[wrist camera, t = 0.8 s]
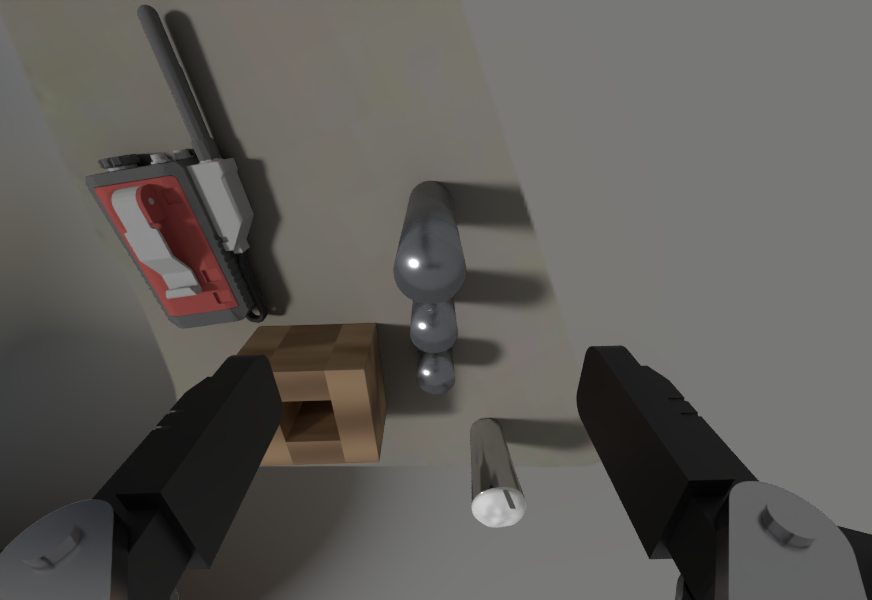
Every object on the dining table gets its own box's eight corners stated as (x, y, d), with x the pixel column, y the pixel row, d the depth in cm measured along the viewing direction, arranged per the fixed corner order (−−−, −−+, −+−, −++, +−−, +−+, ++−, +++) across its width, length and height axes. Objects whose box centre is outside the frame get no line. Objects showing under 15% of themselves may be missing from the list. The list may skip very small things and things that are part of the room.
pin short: (417, 336, 30) (415, 365, 27) (452, 335, 30) (454, 364, 27) (419, 363, 32) (418, 394, 28) (452, 362, 32) (454, 393, 28)
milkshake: (514, 410, 35) (542, 510, 26) (501, 445, 37) (523, 548, 29) (470, 405, 35) (483, 506, 26) (459, 441, 37) (469, 545, 28)
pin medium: (413, 267, 27) (408, 314, 21) (451, 266, 27) (457, 312, 21) (415, 301, 29) (411, 353, 23) (451, 300, 29) (457, 352, 23)
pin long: (407, 181, 24) (390, 238, 14) (451, 180, 24) (467, 236, 14) (410, 224, 26) (396, 305, 15) (451, 222, 26) (465, 303, 15)
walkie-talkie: (296, 308, 29) (179, 8, 20) (276, 338, 26) (118, -17, 16) (197, 322, 30) (35, 34, 20) (163, 353, 26) (-57, 17, 16)
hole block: (258, 326, 30) (221, 373, 24) (375, 323, 30) (364, 369, 24) (286, 411, 35) (260, 465, 29) (386, 408, 35) (379, 462, 29)
